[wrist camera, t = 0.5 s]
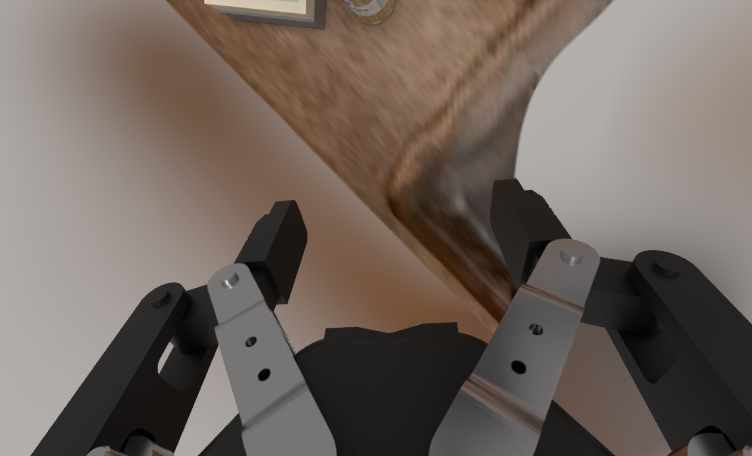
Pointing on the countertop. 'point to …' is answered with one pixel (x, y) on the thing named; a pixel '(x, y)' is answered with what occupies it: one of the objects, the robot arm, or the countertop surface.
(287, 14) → the shallow square tray
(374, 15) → the sprinkles bottle
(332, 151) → the countertop surface
